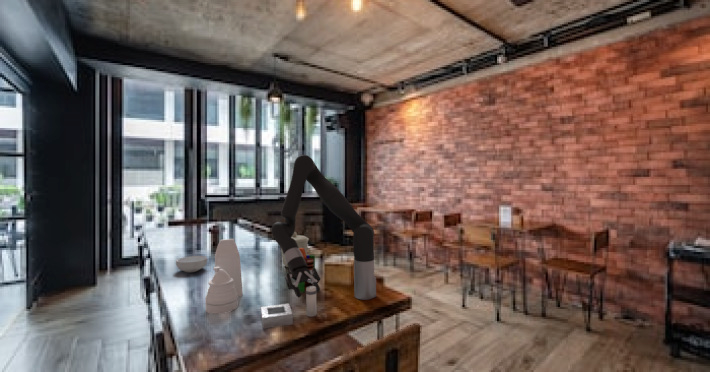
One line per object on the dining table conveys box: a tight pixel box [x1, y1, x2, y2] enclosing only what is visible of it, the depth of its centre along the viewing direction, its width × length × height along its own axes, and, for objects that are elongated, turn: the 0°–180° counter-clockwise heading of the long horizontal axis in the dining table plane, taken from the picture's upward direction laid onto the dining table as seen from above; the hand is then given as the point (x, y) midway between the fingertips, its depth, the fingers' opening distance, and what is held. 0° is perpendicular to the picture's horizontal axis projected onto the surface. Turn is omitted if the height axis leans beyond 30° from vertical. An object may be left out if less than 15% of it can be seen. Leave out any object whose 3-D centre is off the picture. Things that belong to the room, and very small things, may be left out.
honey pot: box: [204, 266, 239, 315], centre depth 148 cm, size 13×13×18 cm
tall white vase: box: [214, 238, 244, 297], centre depth 166 cm, size 12×12×26 cm
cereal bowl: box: [175, 255, 208, 273], centre depth 206 cm, size 17×17×7 cm
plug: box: [305, 286, 317, 318], centre depth 140 cm, size 4×4×11 cm
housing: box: [260, 303, 294, 329], centre depth 135 cm, size 11×11×4 cm
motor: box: [297, 248, 316, 293], centre depth 171 cm, size 10×9×20 cm
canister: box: [280, 231, 310, 268], centre depth 213 cm, size 18×18×21 cm
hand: (309, 294), depth 141 cm, fingers open, 8 cm apart
